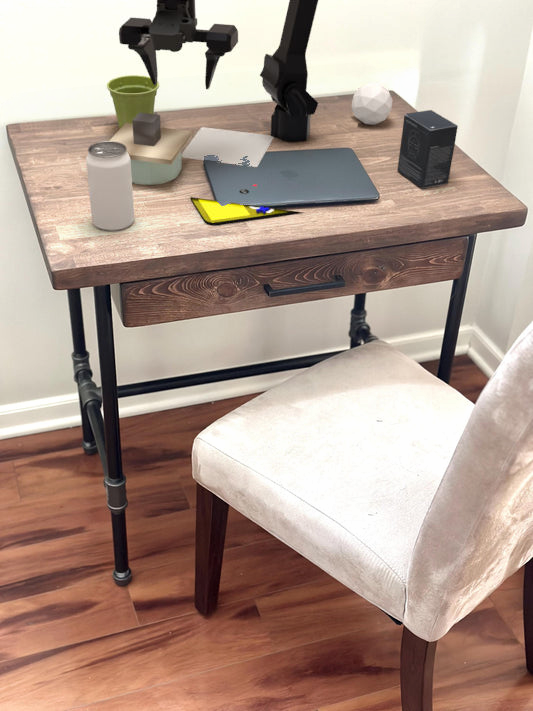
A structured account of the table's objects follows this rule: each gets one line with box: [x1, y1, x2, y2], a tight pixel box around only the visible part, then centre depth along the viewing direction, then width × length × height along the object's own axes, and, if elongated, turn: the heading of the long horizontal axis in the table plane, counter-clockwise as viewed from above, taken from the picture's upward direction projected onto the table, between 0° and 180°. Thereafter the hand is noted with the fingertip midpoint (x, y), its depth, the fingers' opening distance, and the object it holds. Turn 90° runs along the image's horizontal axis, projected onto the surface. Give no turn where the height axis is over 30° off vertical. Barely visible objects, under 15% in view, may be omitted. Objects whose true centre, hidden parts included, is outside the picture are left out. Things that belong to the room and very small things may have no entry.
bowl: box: [130, 151, 183, 186], centre depth 146 cm, size 10×10×6 cm
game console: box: [190, 184, 304, 227], centre depth 140 cm, size 18×11×2 cm, turn 111°
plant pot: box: [106, 74, 160, 130], centre depth 160 cm, size 9×9×9 cm
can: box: [85, 140, 135, 232], centre depth 130 cm, size 6×6×12 cm
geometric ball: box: [350, 82, 394, 126], centre depth 167 cm, size 8×8×8 cm
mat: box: [181, 126, 275, 168], centre depth 156 cm, size 14×14×1 cm
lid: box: [108, 113, 194, 165], centre depth 142 cm, size 12×12×5 cm
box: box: [397, 109, 459, 189], centre depth 147 cm, size 8×6×11 cm
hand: (181, 86), depth 147 cm, fingers open, 9 cm apart
